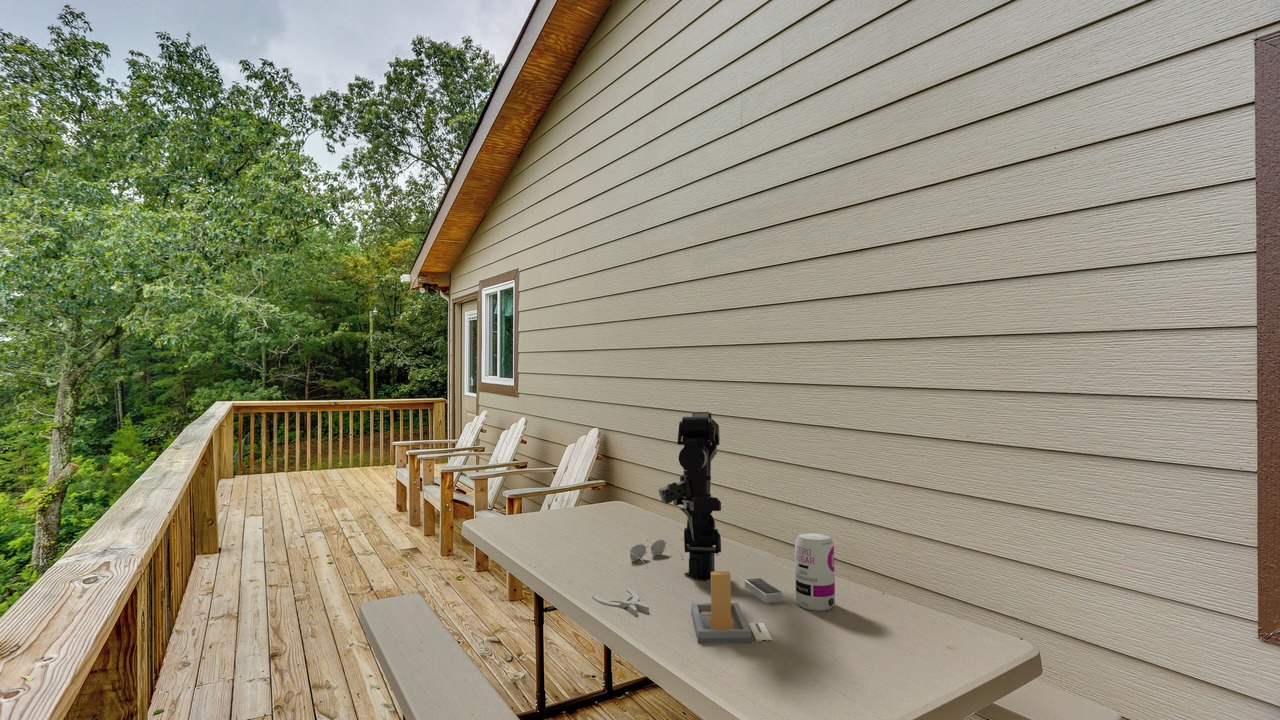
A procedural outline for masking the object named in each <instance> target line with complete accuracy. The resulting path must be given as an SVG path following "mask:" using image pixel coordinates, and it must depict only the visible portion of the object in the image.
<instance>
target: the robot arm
mask: <svg viewBox="0 0 1280 720" xmlns="http://www.w3.org/2000/svg"><path fill="white" fill-rule="evenodd" d="M720 438H721V437H720V425H719V424H718V423H717V422H716V421H715V420H714V419H713V415H712V412H709V411H694V412H692V416H682V418H681V421H679V424H678V432H677V442H676V444H677V446H678V445H679V446H683V447H682V448H681V450H680V451H679V454H678V462H679V465H680V467H682V468H683V472H682V473H683V474H681V475H680V476H679V481H678V482H674V481H672V483H668V484H667V486H663V487H660V488H659V489H658V493H659V496H660V499H661V502H662V503H664V504H670V503H673V505H674V506H680V505H682V507H679V510H680V511H681V512H682V513H684V515H685V516H686V518H687V521H686V522H687V523H686V527H684V528H683V529H684V530H683V543H684V553H687V554H688V553H689V558H688V571H687V572H684V576H685V577H689V578H693V579H696V580H701V581H708V580H711V572H716V571H715V568H716V567H715V554H716V555H718V554H719V553H721V552H722V539H721V538H722V536H721V534H720V533H719V532H720V531H719V529H718V528H716V521H715V519H714V517H713V515H712V513H713V512H721V511H722V502H721V501H720V500H719V498H718V497H714V496H712V494H711V482H712V473H711V472H712V461H713V459H714V458H715V457H716V455H717V453H718V446H720Z"/></svg>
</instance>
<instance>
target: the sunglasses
mask: <svg viewBox="0 0 1280 720" xmlns="http://www.w3.org/2000/svg"><path fill="white" fill-rule="evenodd" d="M666 544H667V545H668V546H670V547H671V548H673V549H674V550H676V551H677V552H678V553H679V554H680V555H681V557H682V560H684V556H683V553H682V552H680V551H678V550H677V549H676V548H675V547H673V546H672V545H671V544H669V543H668V542H666V541H665V540H664V539H658V540H655V541H654V542H653V543H652V544H651V545H648V546H645V545H644V544H643V543H642V544H641V543H639V544H634V545H633V546H632V547H631V549H629V550H628V552H629V557H630V559H629V560H630V561H631V562H634V561H633V560H636V561H641V562H643V563H644V565H645V566H646V569H647V570H648V566H647V563H646V562H645V561H644V560H643V557H645V556H646V555H647V553H648V551H647V548H650V553H651V555H652V557H656V555H658V556H661V555H660V554H662V555H663V553H664V552H665V550H666V549H665V548H666ZM638 559H640V560H638Z"/></svg>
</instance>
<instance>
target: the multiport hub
mask: <svg viewBox="0 0 1280 720" xmlns="http://www.w3.org/2000/svg"><path fill="white" fill-rule="evenodd" d="M744 589H745V590H747V592H750V594H752V595H754V596H755V597H756V598H758V599H759V600H761V602H763V603H764V602H765V604H771V603H770V602H773V603H780V602H781V603H782V602H783V601H784V600H783V599H784V598H783V595H784V594H783V592H782V591H781V590H779V589H778V588H776V587H775V586H773V585H772V584H770V583H769V582H767V581H766V580H764V579H763V578H762V577H761V578H760V577H759V578H758V577H757V578H749V579H744Z"/></svg>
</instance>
